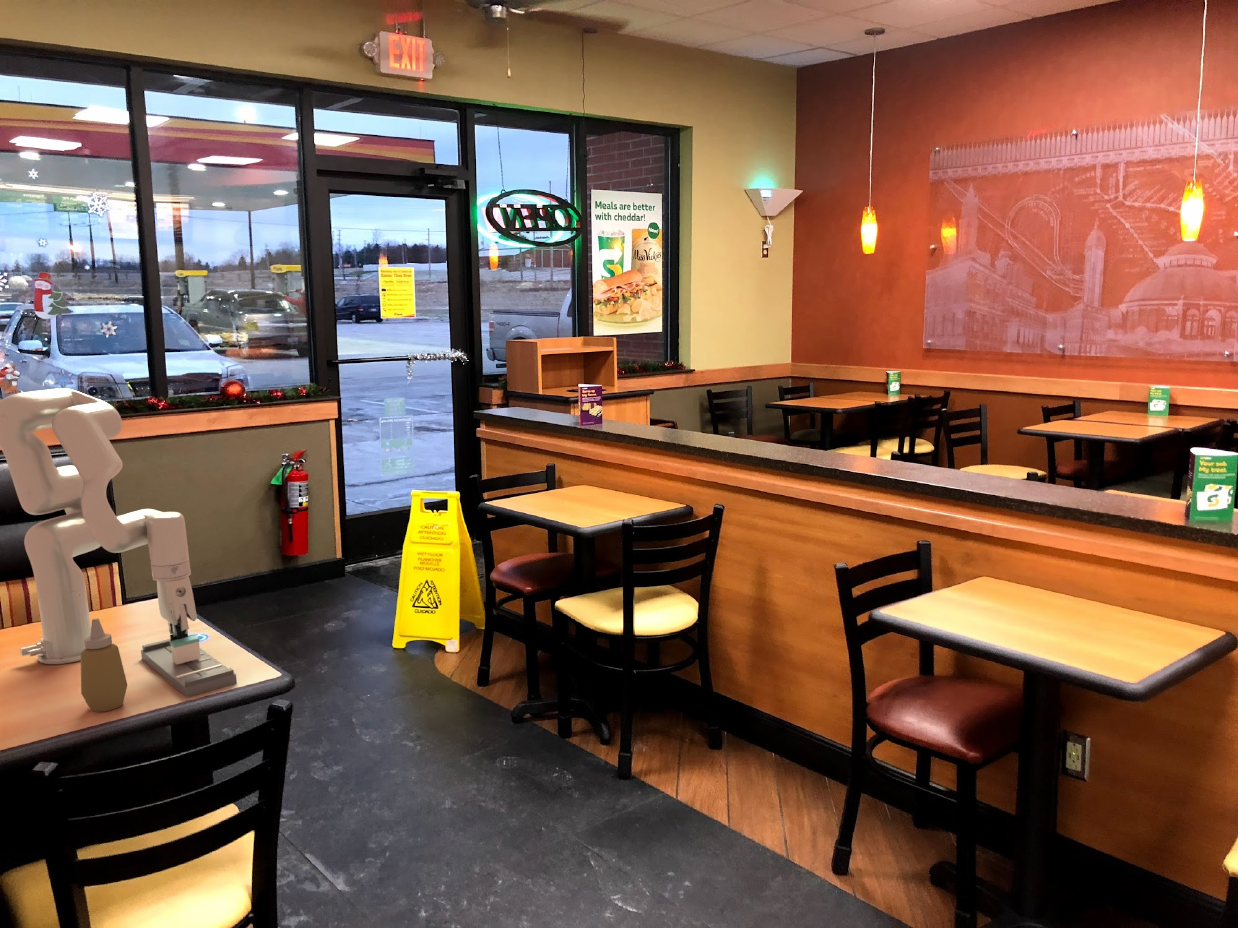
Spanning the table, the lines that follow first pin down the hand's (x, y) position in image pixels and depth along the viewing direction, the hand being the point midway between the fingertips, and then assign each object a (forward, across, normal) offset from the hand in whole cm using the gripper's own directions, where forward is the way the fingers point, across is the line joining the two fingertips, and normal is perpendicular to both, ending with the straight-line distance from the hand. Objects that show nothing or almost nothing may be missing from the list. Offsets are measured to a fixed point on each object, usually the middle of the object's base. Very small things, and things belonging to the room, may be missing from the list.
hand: (180, 651), depth 213 cm
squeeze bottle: (+4, -11, +18) cm, 22 cm away
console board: (+3, -4, 0) cm, 5 cm away
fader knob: (+1, -4, 0) cm, 4 cm away
